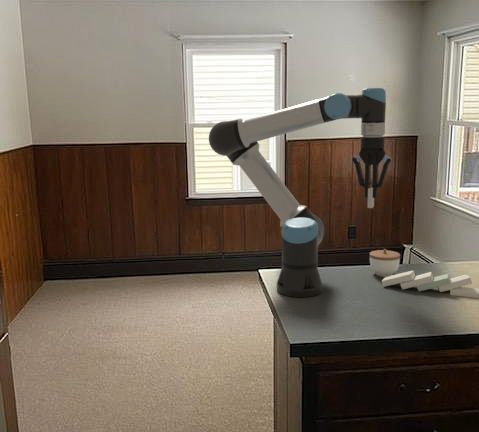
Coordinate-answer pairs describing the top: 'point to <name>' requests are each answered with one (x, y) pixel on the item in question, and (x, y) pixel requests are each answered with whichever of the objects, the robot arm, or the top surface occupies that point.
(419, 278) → the tile
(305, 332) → the top surface
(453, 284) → the tile
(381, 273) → the lidded jar
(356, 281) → the top surface
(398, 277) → the tile
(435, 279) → the tile
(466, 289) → the tile
